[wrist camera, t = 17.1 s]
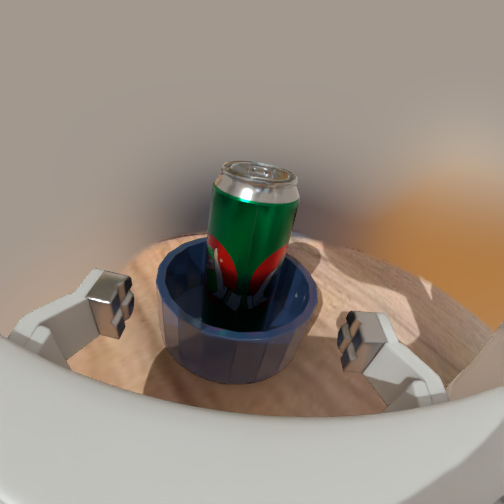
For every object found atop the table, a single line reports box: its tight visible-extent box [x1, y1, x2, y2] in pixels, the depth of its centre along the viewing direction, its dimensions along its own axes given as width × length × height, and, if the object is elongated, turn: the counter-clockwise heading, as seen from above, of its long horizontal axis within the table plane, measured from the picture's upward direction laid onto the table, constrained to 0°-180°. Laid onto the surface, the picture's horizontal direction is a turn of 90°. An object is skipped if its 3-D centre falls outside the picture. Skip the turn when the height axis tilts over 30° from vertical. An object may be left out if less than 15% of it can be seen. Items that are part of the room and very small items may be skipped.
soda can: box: [201, 161, 300, 332], centre depth 18 cm, size 5×5×12 cm
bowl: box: [156, 237, 318, 384], centre depth 20 cm, size 11×11×5 cm
